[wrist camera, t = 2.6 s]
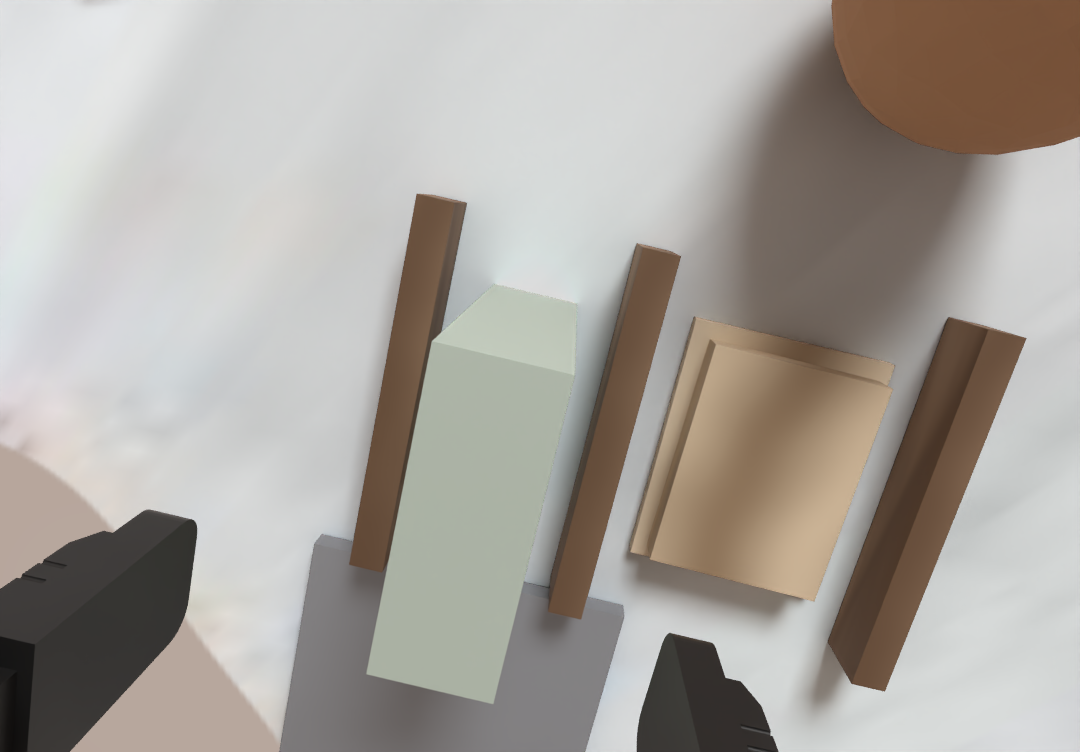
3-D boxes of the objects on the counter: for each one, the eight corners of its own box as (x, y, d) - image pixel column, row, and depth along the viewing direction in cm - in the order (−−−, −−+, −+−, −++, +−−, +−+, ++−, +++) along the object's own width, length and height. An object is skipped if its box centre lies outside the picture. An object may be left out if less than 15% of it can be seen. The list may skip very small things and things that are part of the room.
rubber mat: (623, 605, 28) (624, 616, 27) (563, 812, 30) (562, 828, 29) (321, 534, 28) (314, 543, 27) (285, 746, 30) (277, 761, 29)
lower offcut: (880, 358, 26) (895, 365, 25) (804, 579, 28) (813, 595, 27) (691, 314, 26) (696, 318, 25) (628, 537, 28) (630, 552, 27)
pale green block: (576, 303, 25) (575, 375, 15) (527, 508, 27) (493, 704, 17) (494, 283, 25) (431, 341, 15) (449, 490, 27) (366, 673, 17)
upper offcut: (878, 380, 25) (893, 389, 24) (804, 584, 27) (814, 601, 26) (709, 338, 25) (715, 344, 24) (647, 544, 27) (649, 559, 26)
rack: (982, 325, 25) (1026, 338, 22) (858, 649, 28) (884, 691, 25) (432, 194, 25) (416, 193, 22) (369, 533, 28) (348, 564, 25)
